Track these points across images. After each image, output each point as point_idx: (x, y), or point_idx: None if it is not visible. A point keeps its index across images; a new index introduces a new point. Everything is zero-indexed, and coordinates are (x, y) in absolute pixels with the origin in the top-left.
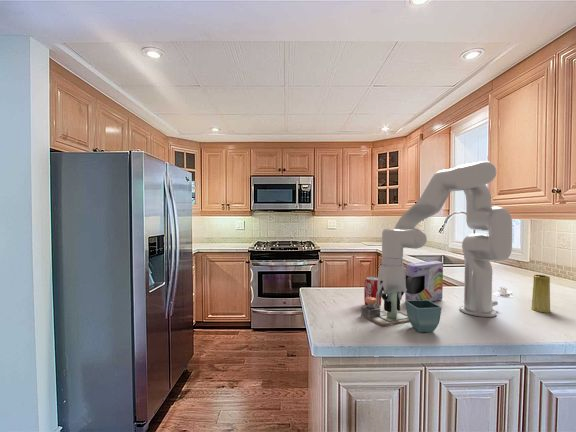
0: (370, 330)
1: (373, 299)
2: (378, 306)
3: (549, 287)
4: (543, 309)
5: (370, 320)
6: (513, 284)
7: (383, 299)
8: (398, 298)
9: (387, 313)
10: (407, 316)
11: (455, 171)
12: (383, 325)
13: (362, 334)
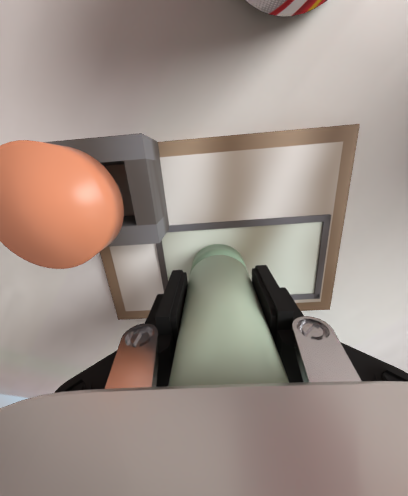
0: (55, 325)
1: (61, 251)
2: (298, 13)
3: None
4: None
5: None
6: None
7: (130, 341)
8: (288, 377)
9: (189, 276)
10: (312, 278)
11: None
12: (124, 318)
13: (10, 342)
